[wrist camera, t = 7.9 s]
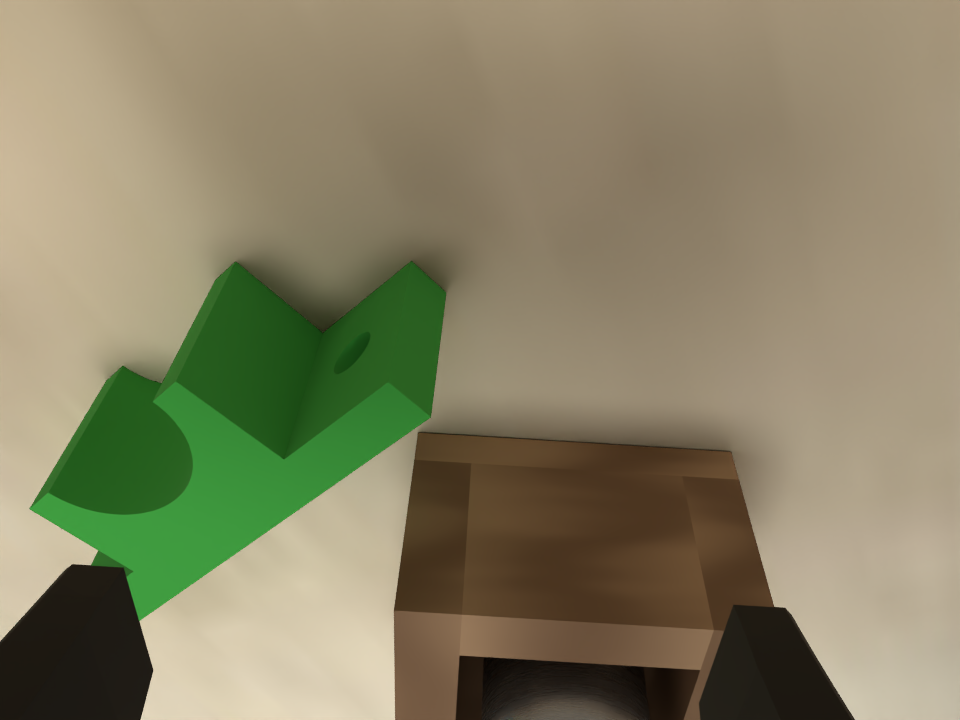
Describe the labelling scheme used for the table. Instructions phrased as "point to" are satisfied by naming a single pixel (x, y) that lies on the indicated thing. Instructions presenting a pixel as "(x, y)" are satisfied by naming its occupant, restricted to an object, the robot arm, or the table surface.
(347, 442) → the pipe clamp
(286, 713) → the table surface
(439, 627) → the socket
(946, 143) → the table surface
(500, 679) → the peg
